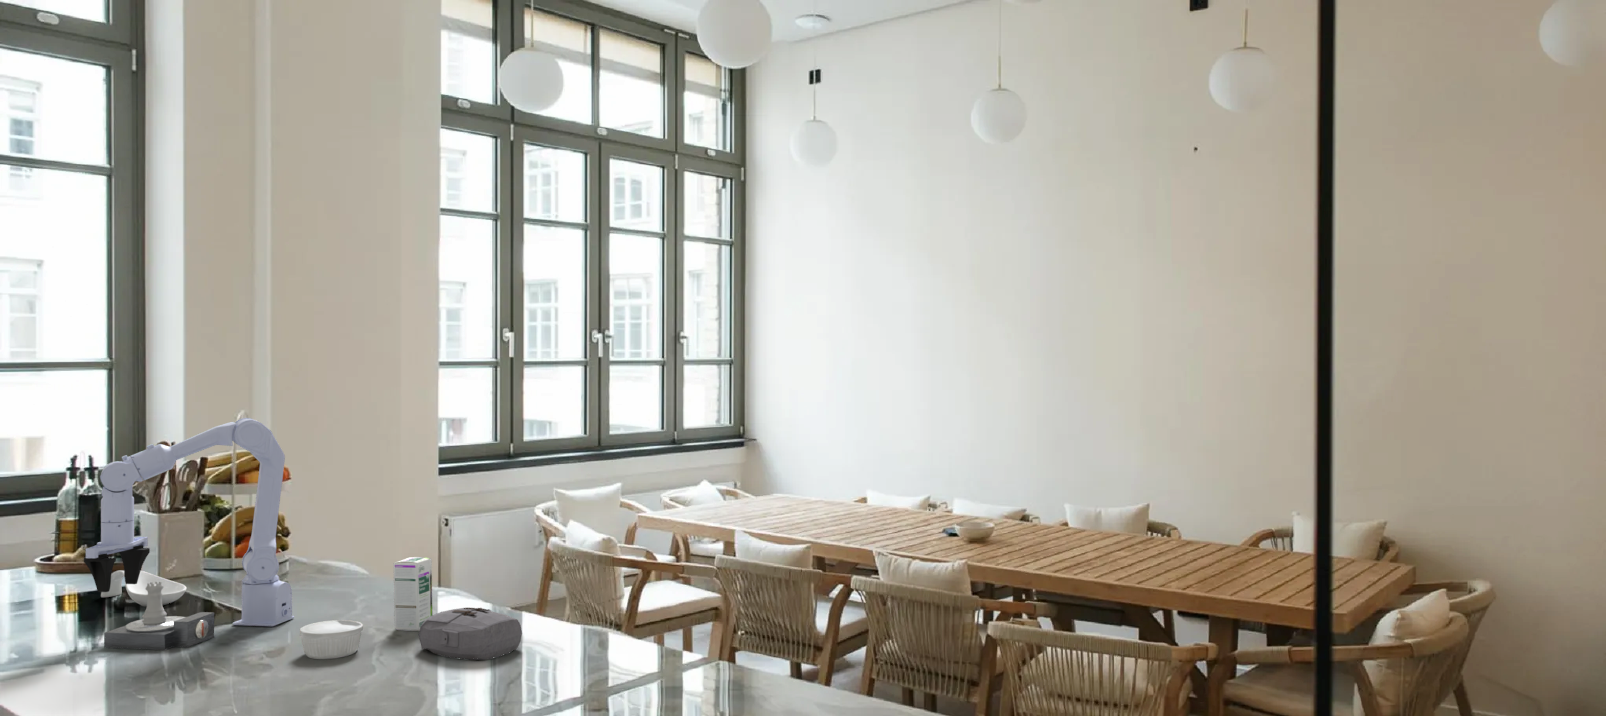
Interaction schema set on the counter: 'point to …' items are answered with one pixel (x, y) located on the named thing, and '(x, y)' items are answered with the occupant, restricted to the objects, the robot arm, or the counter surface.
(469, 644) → the grey rounded bag
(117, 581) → the spoon rest
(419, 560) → the syrup box
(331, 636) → the ramekin
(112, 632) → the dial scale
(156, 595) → the rook chess piece
